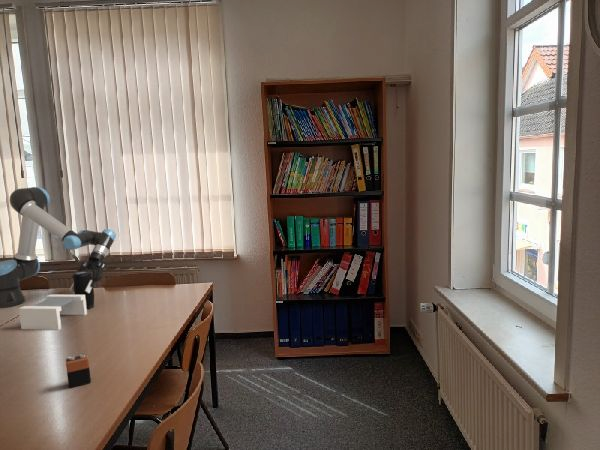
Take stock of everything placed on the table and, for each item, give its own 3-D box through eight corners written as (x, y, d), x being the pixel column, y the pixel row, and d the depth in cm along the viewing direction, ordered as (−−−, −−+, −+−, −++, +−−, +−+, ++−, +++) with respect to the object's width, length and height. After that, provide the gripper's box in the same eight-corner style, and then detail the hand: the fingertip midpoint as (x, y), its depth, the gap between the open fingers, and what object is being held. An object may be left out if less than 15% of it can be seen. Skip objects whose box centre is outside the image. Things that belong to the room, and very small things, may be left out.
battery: (68, 383, 159) (65, 356, 158) (89, 378, 163) (86, 351, 161) (69, 388, 156) (65, 360, 154) (91, 383, 159) (88, 355, 158)
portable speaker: (92, 309, 240) (88, 273, 237) (73, 311, 239) (69, 274, 236) (98, 304, 249) (94, 269, 246) (80, 305, 248) (75, 270, 245)
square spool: (52, 313, 237) (50, 294, 236) (87, 313, 234) (85, 294, 233) (21, 329, 215) (18, 308, 214) (58, 329, 213) (56, 308, 211)
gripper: (118, 259, 252) (100, 296, 239) (86, 258, 258) (67, 293, 246) (111, 251, 246) (92, 289, 233) (78, 250, 253) (58, 286, 240)
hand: (79, 291), depth 240 cm, fingers closed on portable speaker, 9 cm apart
